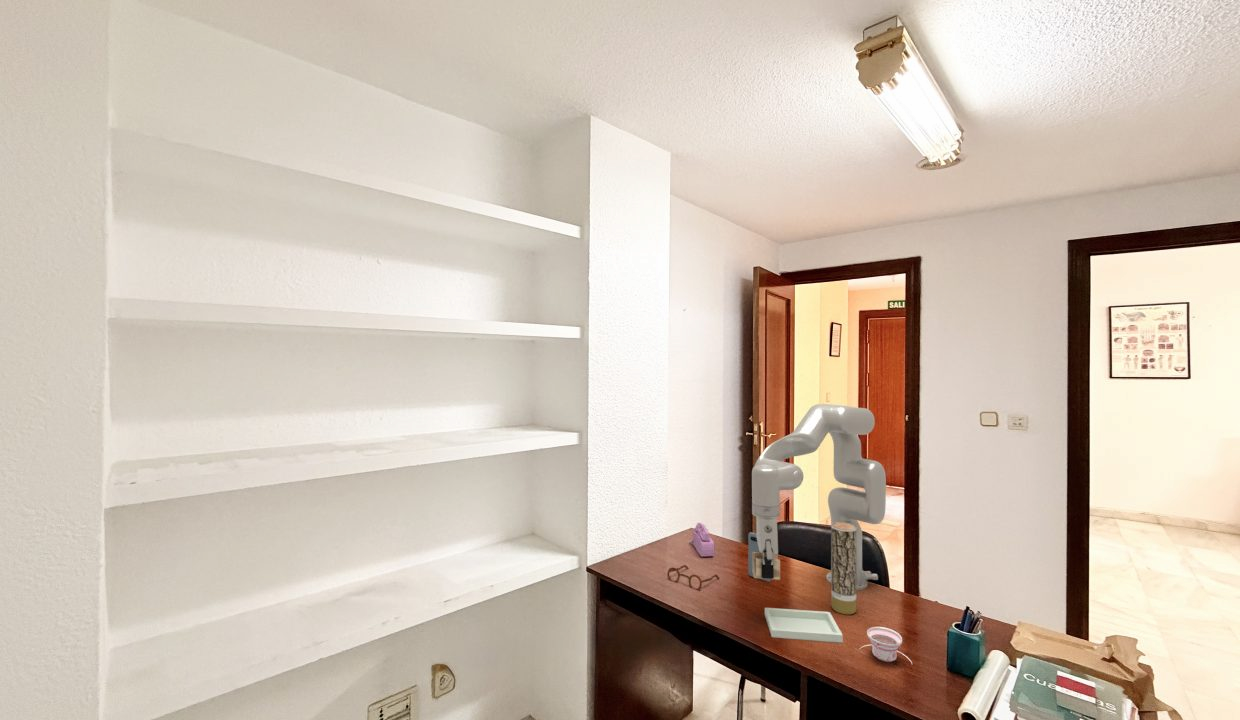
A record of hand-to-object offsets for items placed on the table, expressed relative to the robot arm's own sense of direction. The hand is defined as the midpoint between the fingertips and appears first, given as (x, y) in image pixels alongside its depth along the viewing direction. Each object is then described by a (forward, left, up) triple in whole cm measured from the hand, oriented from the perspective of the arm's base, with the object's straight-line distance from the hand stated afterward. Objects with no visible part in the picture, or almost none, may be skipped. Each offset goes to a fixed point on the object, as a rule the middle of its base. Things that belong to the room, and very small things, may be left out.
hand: (766, 572), depth 140 cm
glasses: (+20, -25, -15) cm, 35 cm away
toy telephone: (+17, -53, -14) cm, 57 cm away
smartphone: (-2, -28, -14) cm, 32 cm away
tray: (-9, +3, -14) cm, 17 cm away
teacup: (-26, +14, -14) cm, 33 cm away
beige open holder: (0, 0, -1) cm, 1 cm away
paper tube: (-24, -10, -14) cm, 30 cm away
